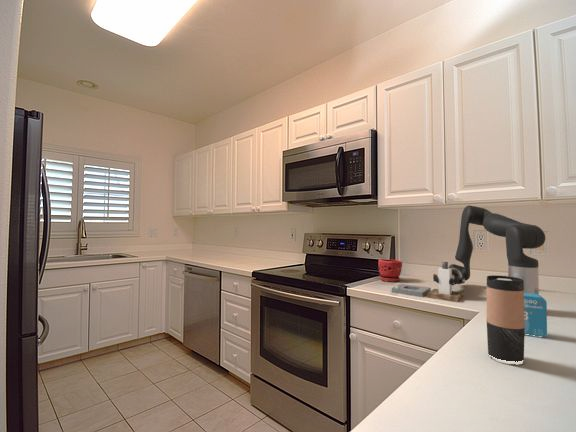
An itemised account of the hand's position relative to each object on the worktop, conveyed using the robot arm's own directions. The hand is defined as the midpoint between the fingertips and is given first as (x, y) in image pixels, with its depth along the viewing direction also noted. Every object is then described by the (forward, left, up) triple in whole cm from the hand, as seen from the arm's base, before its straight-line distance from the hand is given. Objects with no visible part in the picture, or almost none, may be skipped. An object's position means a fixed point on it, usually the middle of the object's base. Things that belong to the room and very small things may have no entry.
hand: (443, 281), depth 132 cm
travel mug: (-26, +55, -8) cm, 62 cm away
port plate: (+15, -3, -8) cm, 17 cm away
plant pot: (+34, -25, -8) cm, 43 cm away
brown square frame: (0, -3, -8) cm, 8 cm away
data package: (-28, +30, -8) cm, 42 cm away
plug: (0, -3, -8) cm, 8 cm away
